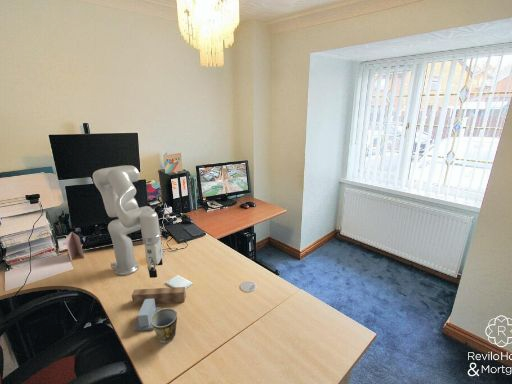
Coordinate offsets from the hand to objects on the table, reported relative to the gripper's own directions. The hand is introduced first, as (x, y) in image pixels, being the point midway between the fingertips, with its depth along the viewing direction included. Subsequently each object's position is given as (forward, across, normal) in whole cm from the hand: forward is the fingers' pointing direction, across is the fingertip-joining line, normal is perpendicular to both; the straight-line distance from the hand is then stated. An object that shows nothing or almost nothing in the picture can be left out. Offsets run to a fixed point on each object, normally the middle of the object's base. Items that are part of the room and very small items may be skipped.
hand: (156, 270), depth 123 cm
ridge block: (+17, -12, +2) cm, 21 cm away
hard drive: (+18, +12, -7) cm, 22 cm away
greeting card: (+16, +46, +62) cm, 79 cm away
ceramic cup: (+18, -23, -8) cm, 30 cm away
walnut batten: (+17, 0, 0) cm, 17 cm away
